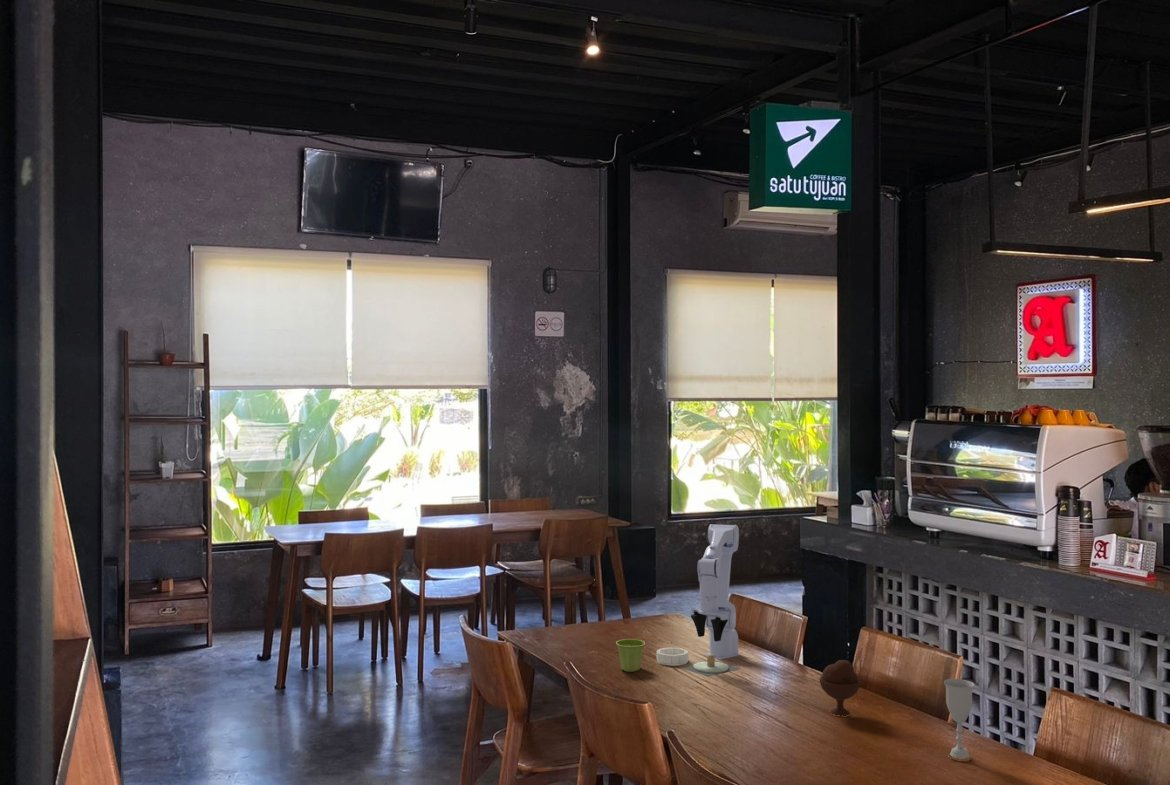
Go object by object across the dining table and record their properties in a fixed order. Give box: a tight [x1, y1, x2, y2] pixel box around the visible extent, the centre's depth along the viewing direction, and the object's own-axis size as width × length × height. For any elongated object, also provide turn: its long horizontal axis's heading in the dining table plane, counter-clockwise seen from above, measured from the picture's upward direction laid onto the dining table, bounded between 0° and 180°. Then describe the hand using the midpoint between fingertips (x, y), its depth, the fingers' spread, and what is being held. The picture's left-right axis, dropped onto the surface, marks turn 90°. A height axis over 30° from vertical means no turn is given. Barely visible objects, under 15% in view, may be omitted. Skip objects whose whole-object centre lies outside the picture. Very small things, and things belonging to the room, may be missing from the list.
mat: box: [682, 660, 740, 677], centre depth 317 cm, size 14×12×1 cm
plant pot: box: [615, 638, 646, 673], centre depth 318 cm, size 9×9×9 cm
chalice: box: [943, 678, 975, 759], centre depth 238 cm, size 7×7×18 cm
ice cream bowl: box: [819, 659, 861, 716], centre depth 272 cm, size 11×11×15 cm
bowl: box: [655, 647, 689, 667], centre depth 326 cm, size 10×10×4 cm
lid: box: [693, 654, 729, 674], centre depth 317 cm, size 11×11×4 cm
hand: (709, 638), depth 317 cm, fingers open, 7 cm apart
